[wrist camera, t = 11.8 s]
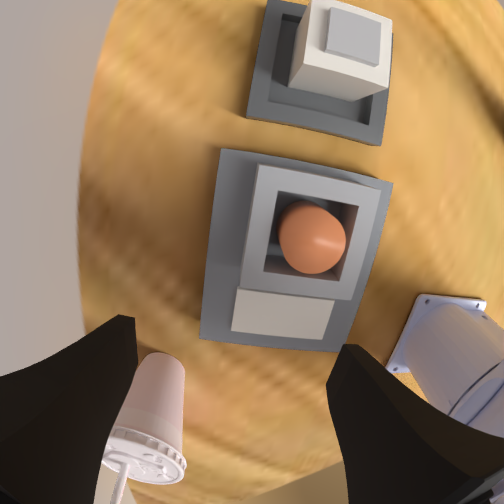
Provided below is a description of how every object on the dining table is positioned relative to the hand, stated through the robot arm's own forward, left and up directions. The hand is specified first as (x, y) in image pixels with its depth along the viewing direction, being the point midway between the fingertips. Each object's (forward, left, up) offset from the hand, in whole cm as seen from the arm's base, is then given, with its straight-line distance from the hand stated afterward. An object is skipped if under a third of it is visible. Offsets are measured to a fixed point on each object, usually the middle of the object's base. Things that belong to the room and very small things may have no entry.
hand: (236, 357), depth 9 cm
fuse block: (-3, -13, -10) cm, 16 cm away
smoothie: (+5, +11, -10) cm, 16 cm away
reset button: (-3, -3, -7) cm, 9 cm away
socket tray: (-3, -13, -10) cm, 16 cm away
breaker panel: (-3, -1, -10) cm, 10 cm away
